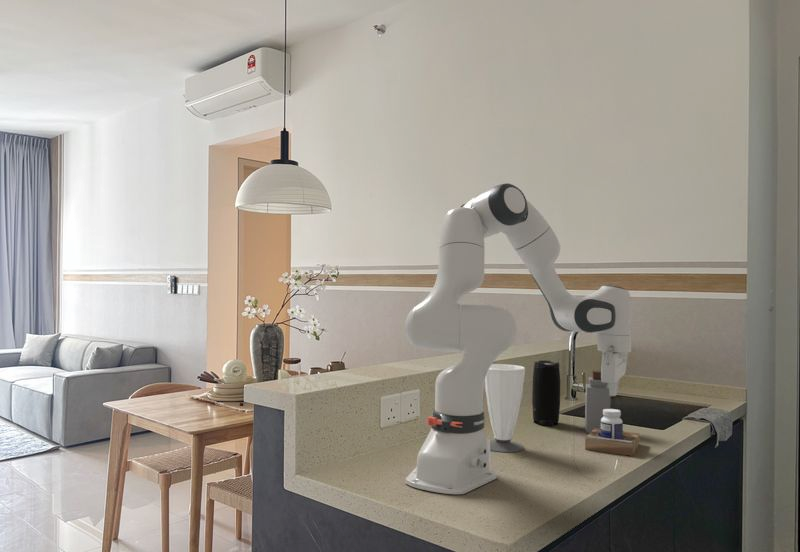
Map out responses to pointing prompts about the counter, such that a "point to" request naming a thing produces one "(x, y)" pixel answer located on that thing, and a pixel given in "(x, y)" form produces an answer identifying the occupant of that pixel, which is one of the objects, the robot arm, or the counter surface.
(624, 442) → the jig
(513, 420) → the cup
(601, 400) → the perfume bottle
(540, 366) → the portable speaker
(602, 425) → the pill bottle
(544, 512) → the counter surface
